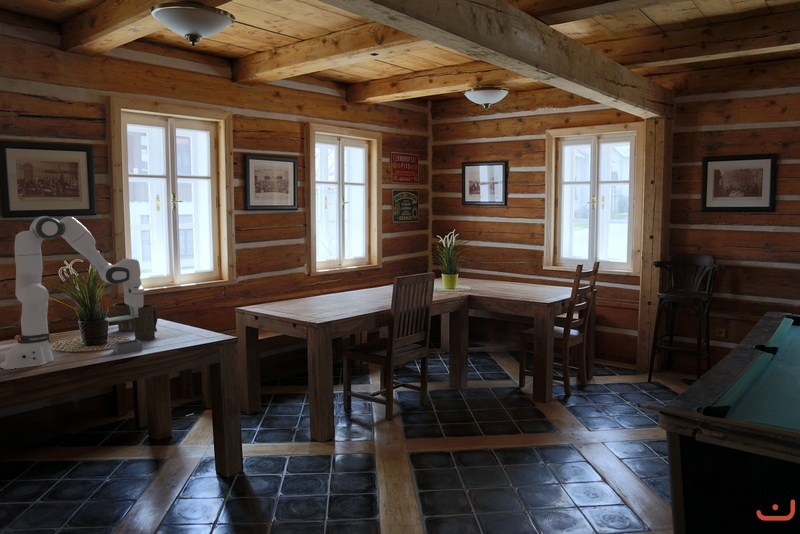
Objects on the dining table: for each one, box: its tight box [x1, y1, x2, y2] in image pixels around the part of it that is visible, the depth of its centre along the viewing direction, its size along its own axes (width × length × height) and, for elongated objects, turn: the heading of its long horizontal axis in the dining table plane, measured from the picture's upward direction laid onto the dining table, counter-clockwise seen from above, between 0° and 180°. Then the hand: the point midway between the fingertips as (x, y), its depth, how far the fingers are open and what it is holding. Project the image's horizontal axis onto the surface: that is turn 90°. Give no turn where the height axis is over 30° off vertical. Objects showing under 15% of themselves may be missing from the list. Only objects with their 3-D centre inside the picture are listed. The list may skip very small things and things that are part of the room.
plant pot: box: [112, 301, 134, 332], centre depth 376 cm, size 16×16×16 cm
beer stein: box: [133, 304, 159, 343], centre depth 349 cm, size 15×11×20 cm
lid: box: [104, 309, 139, 323], centre depth 327 cm, size 16×8×4 cm, turn 131°
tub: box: [112, 339, 143, 355], centre depth 320 cm, size 12×8×5 cm, turn 131°
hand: (134, 314), depth 331 cm, fingers closed on lid, 3 cm apart
